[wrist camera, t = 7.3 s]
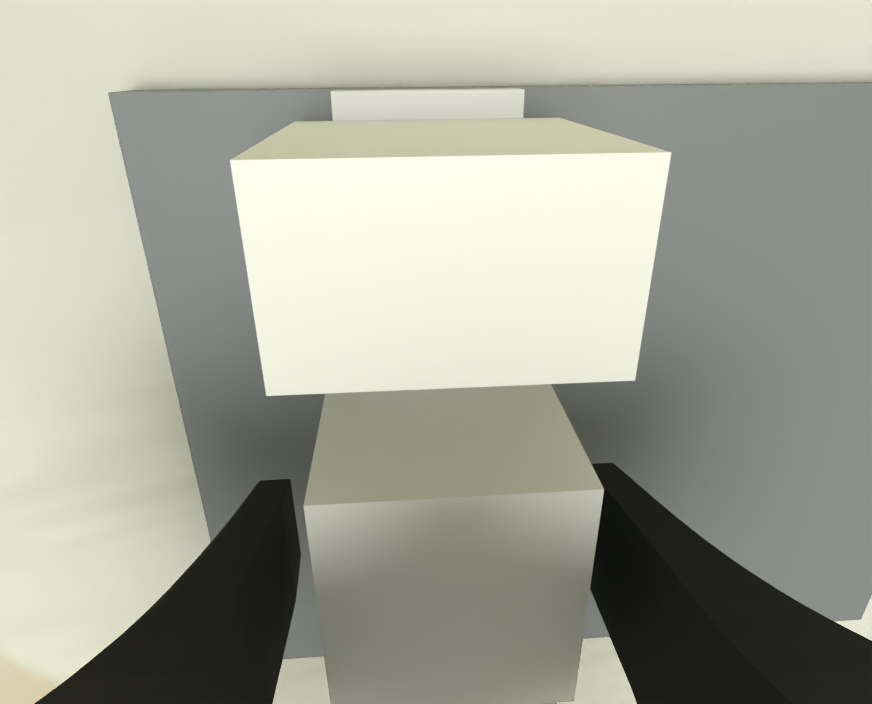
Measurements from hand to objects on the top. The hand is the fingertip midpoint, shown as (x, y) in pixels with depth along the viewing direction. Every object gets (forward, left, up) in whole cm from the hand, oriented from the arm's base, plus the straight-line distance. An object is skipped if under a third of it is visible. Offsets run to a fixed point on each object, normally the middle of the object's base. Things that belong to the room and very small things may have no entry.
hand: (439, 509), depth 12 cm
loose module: (0, 0, -2) cm, 2 cm away
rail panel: (0, -4, -4) cm, 6 cm away
